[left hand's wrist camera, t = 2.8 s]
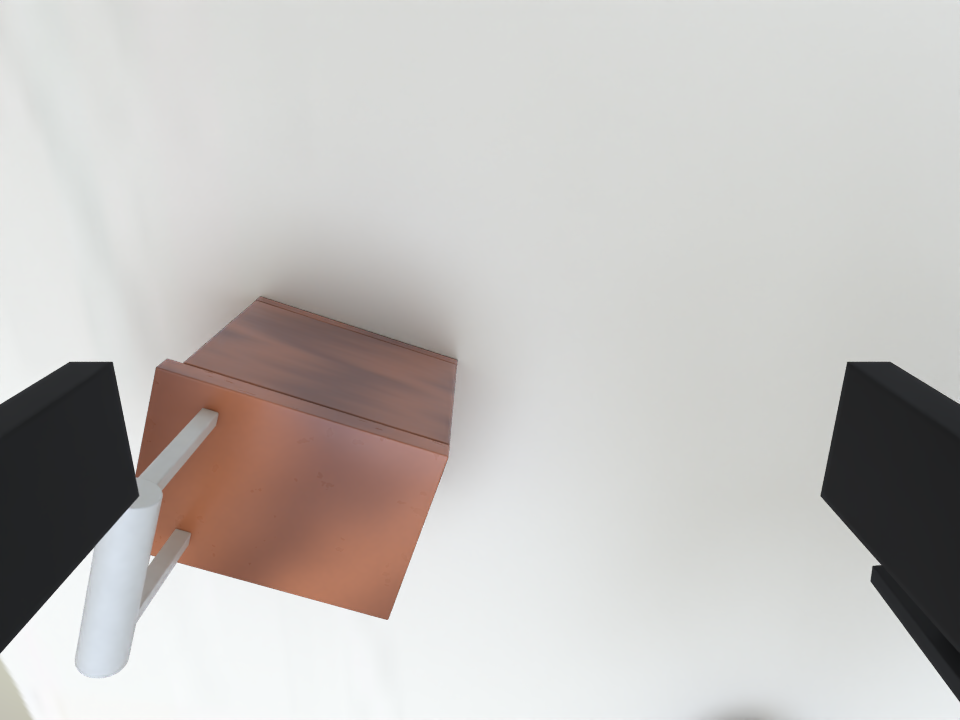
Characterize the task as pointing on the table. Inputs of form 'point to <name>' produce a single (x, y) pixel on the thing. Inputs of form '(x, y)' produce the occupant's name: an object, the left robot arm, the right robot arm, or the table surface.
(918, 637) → the right robot arm
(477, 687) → the table surface
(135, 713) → the table surface
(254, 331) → the chest
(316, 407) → the lid
